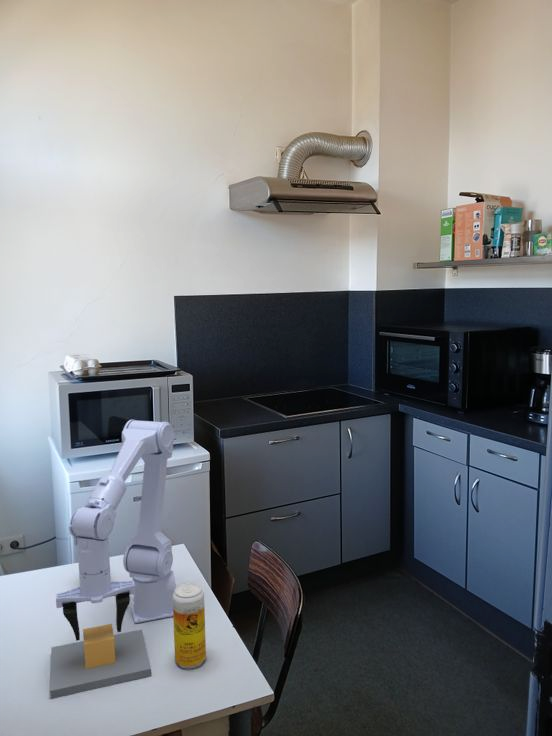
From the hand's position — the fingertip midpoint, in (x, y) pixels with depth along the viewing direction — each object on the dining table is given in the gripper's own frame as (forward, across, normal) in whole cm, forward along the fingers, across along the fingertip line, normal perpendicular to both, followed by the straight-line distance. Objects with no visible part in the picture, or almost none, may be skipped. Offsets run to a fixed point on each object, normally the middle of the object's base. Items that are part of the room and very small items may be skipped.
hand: (98, 633), depth 117 cm
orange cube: (+5, 0, 0) cm, 5 cm away
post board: (+7, 0, 0) cm, 7 cm away
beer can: (+7, +17, -5) cm, 19 cm away
